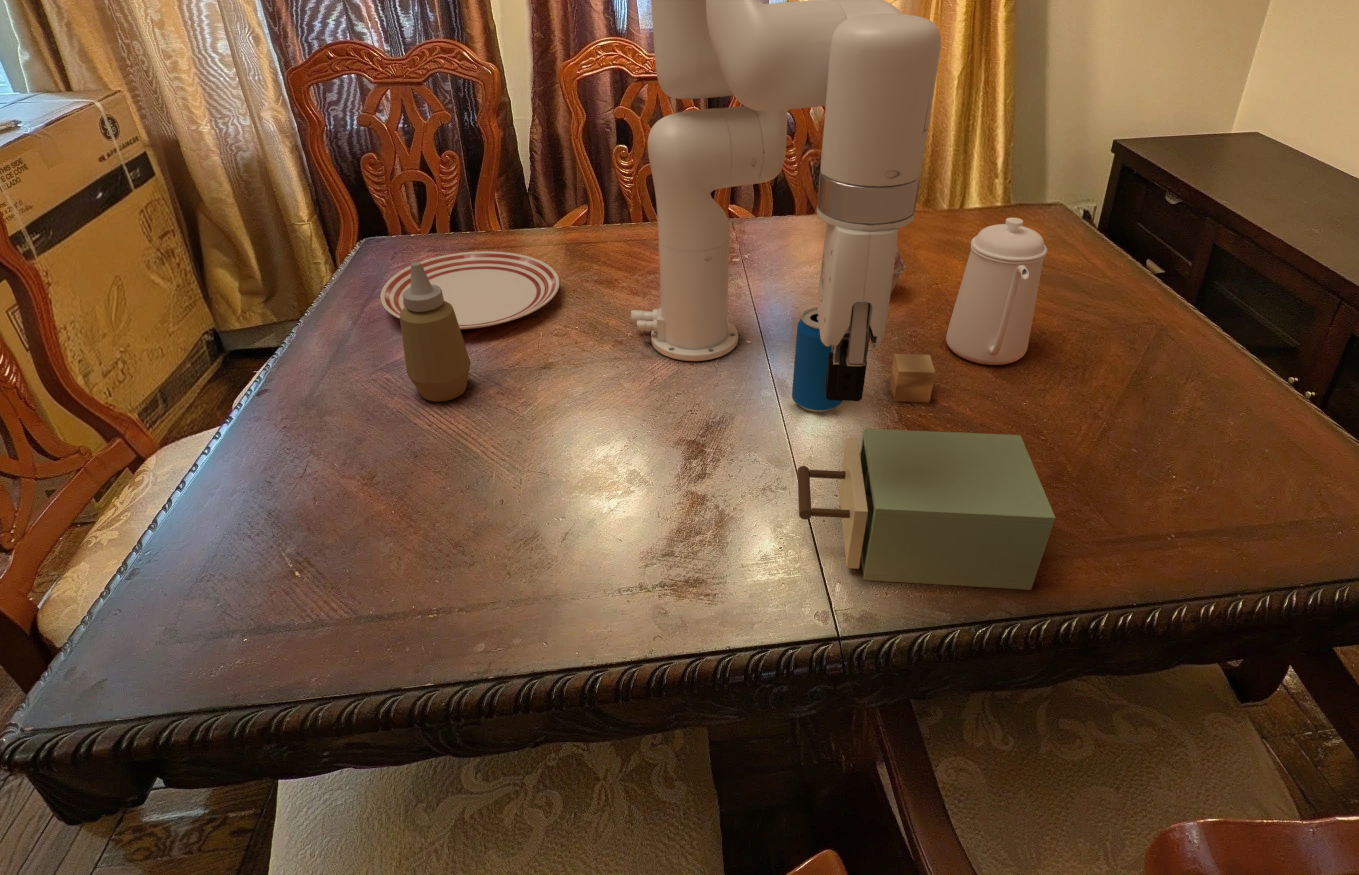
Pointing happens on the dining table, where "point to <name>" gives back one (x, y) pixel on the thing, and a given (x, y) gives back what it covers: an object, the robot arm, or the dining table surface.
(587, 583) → the dining table surface
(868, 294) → the robot arm
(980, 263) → the coffeepot
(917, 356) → the block
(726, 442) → the dining table surface
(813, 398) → the beverage can
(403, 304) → the dinner plate
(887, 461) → the cabinet
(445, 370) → the squeeze bottle
